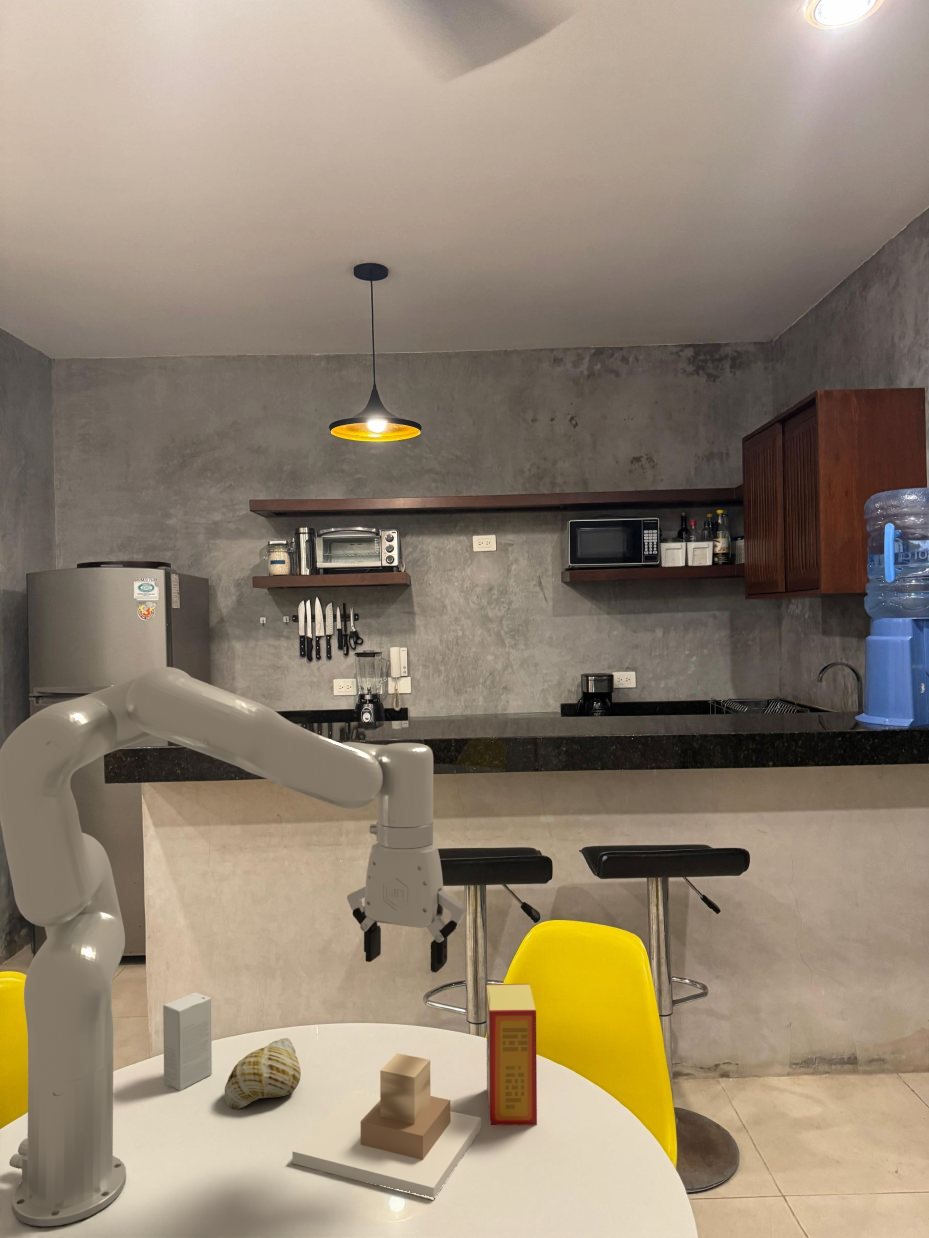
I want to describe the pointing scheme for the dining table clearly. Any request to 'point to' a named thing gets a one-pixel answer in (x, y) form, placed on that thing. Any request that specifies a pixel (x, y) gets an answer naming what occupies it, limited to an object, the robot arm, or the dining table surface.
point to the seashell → (264, 1074)
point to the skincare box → (187, 1040)
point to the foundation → (389, 1144)
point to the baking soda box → (511, 1054)
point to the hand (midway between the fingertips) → (405, 963)
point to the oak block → (405, 1088)
